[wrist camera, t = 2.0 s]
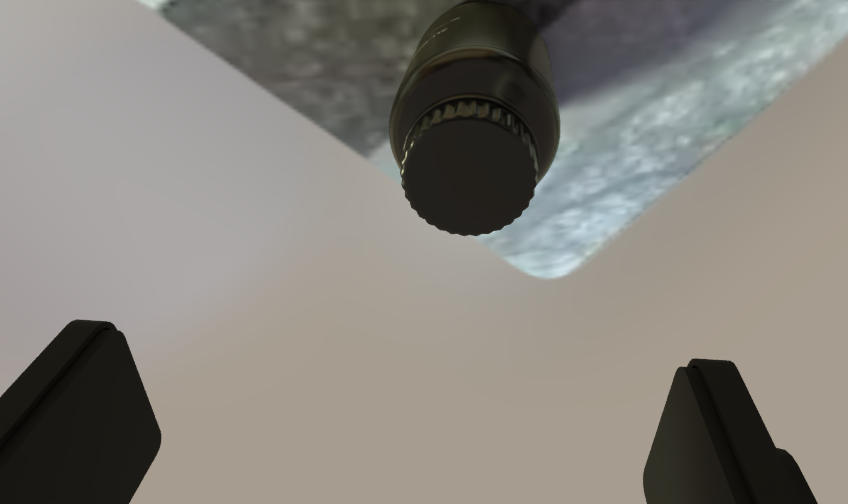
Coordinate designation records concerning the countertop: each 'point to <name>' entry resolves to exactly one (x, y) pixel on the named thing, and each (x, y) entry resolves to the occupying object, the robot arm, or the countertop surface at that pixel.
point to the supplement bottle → (475, 119)
